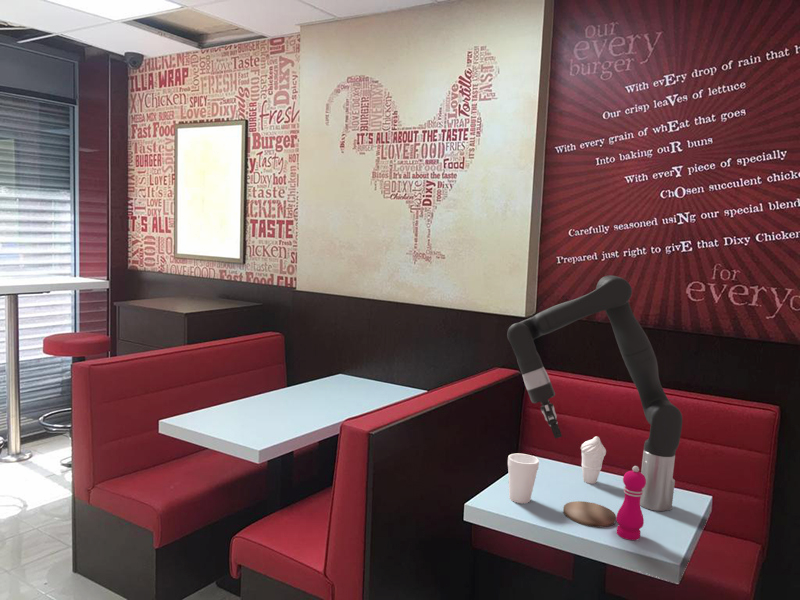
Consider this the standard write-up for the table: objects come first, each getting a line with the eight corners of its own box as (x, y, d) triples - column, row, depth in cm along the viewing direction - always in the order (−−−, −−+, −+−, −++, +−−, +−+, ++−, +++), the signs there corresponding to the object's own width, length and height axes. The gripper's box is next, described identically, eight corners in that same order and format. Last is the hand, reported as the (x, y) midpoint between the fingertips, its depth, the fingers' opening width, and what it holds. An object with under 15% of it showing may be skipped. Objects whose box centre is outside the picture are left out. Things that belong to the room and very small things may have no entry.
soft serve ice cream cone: (572, 480, 228) (577, 434, 227) (585, 475, 234) (590, 430, 232) (594, 488, 222) (599, 441, 221) (607, 483, 228) (612, 437, 226)
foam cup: (526, 508, 202) (530, 466, 200) (498, 499, 207) (502, 458, 206) (540, 499, 209) (544, 459, 208) (513, 490, 215) (517, 451, 213)
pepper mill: (647, 540, 186) (655, 470, 184) (624, 542, 184) (632, 471, 182) (631, 528, 193) (639, 461, 191) (609, 530, 191) (617, 461, 188)
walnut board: (604, 506, 208) (605, 502, 207) (623, 528, 193) (624, 524, 193) (556, 504, 207) (557, 500, 206) (572, 525, 192) (572, 521, 192)
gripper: (550, 382, 198) (571, 434, 196) (549, 379, 212) (568, 428, 210) (526, 390, 200) (546, 443, 198) (526, 387, 214) (545, 436, 212)
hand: (558, 435), depth 204 cm, fingers open, 8 cm apart
